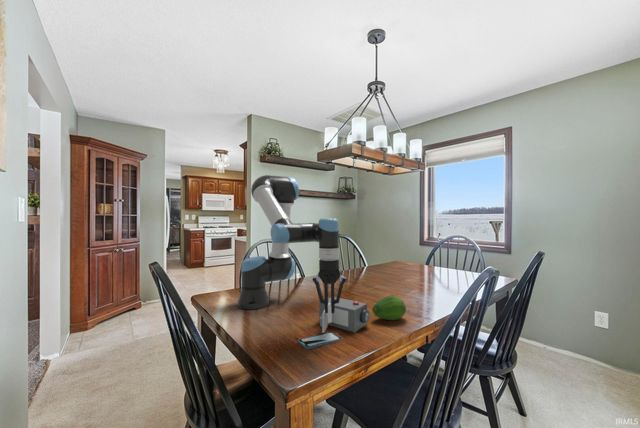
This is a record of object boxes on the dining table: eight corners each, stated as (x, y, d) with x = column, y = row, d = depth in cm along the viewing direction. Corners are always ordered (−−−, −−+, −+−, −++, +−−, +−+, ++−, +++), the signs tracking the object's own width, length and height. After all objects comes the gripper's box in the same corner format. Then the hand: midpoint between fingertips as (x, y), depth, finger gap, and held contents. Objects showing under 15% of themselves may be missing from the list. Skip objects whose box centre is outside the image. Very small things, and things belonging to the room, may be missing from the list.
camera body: (319, 322, 117) (319, 300, 117) (332, 315, 125) (332, 294, 125) (359, 333, 106) (359, 309, 106) (371, 325, 114) (371, 302, 114)
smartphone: (343, 338, 101) (307, 347, 93) (343, 341, 101) (307, 350, 93) (332, 331, 107) (297, 339, 99) (332, 334, 107) (296, 342, 99)
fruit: (378, 326, 113) (378, 301, 114) (367, 317, 123) (367, 294, 123) (411, 322, 118) (411, 298, 118) (398, 314, 127) (398, 292, 127)
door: (324, 322, 114) (324, 305, 114) (329, 323, 114) (329, 305, 114) (319, 332, 105) (319, 313, 105) (324, 333, 104) (324, 313, 104)
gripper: (311, 260, 103) (311, 324, 103) (346, 260, 102) (346, 325, 102) (313, 257, 111) (314, 317, 111) (346, 257, 110) (346, 318, 109)
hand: (329, 321), depth 106 cm, fingers closed
